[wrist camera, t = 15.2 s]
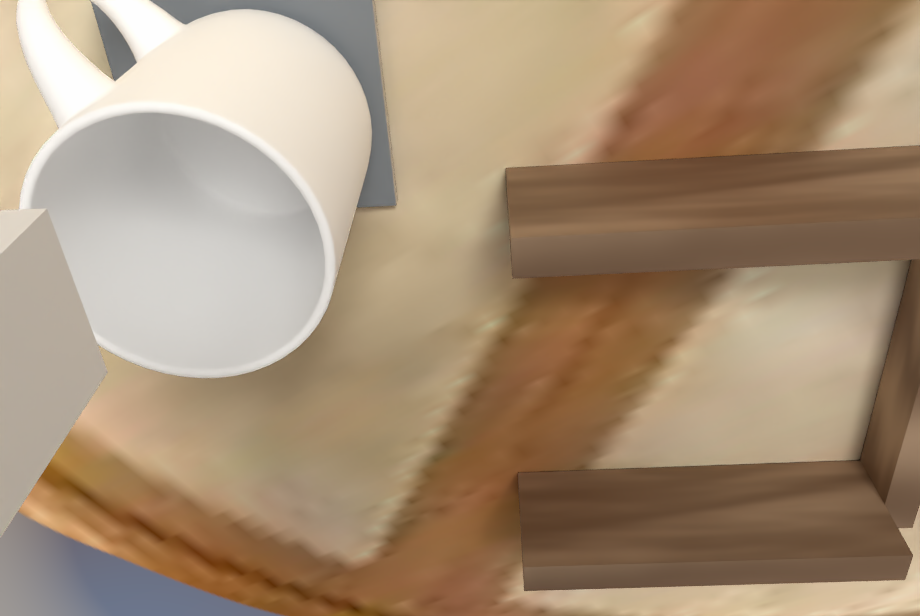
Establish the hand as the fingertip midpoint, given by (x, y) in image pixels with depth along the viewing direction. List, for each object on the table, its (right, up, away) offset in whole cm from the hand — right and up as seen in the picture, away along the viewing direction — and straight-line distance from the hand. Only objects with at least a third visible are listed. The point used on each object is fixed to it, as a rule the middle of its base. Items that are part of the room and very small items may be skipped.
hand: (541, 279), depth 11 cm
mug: (-10, +8, +20) cm, 24 cm away
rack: (+11, -2, +27) cm, 29 cm away
